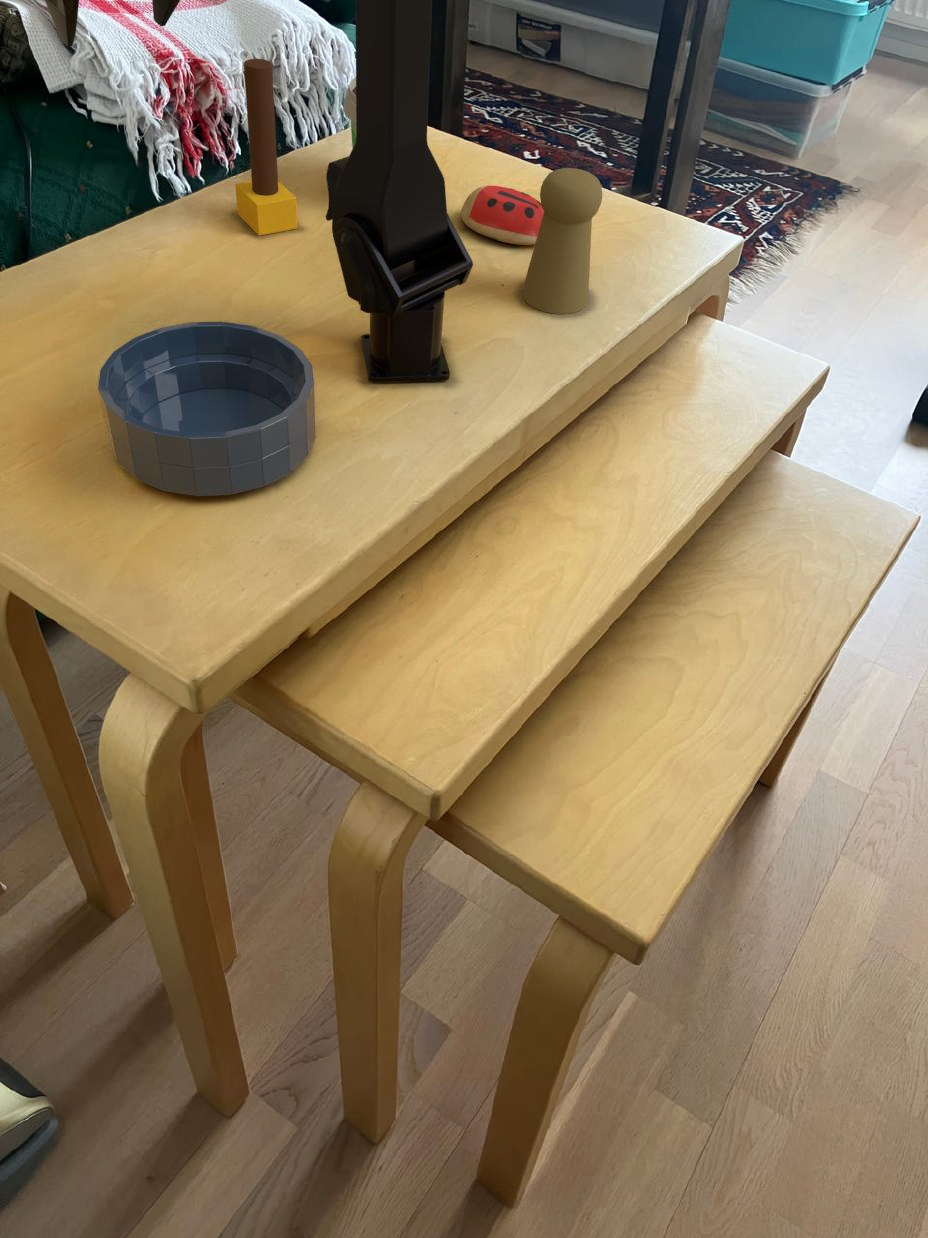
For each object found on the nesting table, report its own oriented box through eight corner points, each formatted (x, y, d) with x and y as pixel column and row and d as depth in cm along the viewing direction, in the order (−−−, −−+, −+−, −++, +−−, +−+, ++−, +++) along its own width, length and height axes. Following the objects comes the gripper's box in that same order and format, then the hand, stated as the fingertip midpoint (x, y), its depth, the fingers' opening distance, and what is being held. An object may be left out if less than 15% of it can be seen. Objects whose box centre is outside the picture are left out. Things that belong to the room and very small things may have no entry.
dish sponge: (297, 228, 97) (291, 70, 87) (258, 235, 96) (247, 75, 86) (275, 206, 100) (267, 51, 90) (237, 213, 98) (224, 55, 88)
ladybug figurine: (479, 205, 104) (482, 170, 101) (565, 233, 101) (571, 198, 98) (446, 228, 100) (448, 192, 97) (535, 258, 97) (540, 222, 94)
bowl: (322, 500, 70) (320, 433, 66) (105, 510, 67) (90, 441, 63) (308, 383, 79) (306, 319, 75) (118, 388, 77) (105, 322, 73)
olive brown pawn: (510, 300, 91) (525, 176, 83) (538, 273, 95) (556, 152, 87) (572, 321, 89) (594, 196, 81) (598, 293, 93) (621, 171, 85)
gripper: (148, -244, 80) (144, -35, 92) (-78, -236, 69) (-48, -1, 82) (243, -172, 78) (225, 33, 90) (24, -152, 67) (38, 76, 79)
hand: (114, 33), depth 85 cm, fingers open, 9 cm apart
